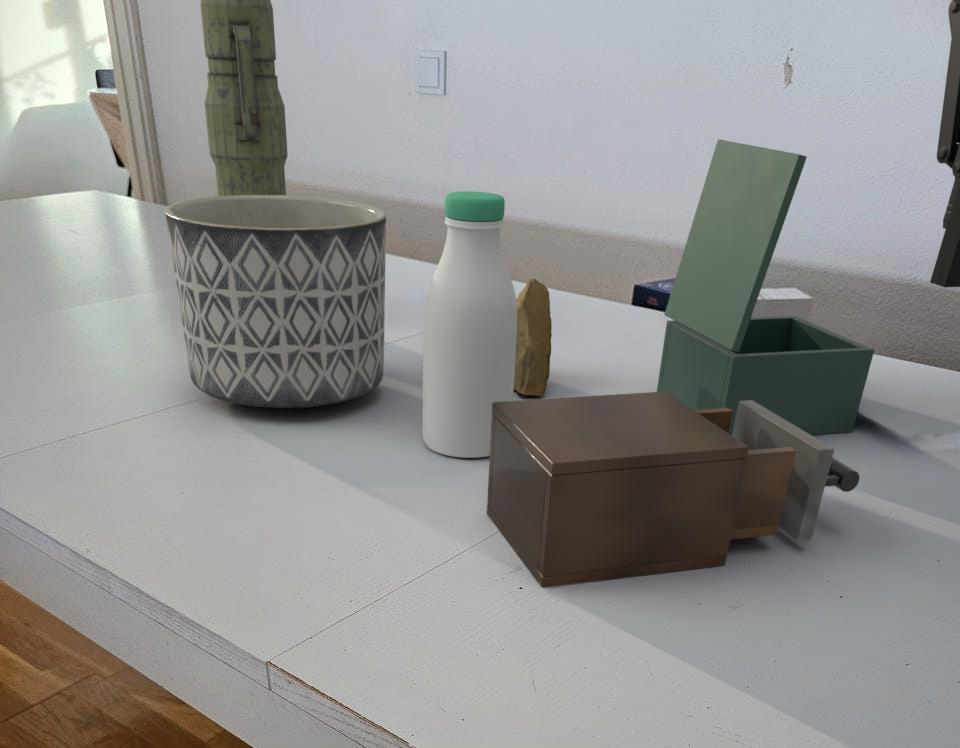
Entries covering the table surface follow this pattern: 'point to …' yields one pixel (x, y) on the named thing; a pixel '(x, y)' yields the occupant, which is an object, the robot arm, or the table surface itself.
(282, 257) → the planter
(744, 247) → the lid
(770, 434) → the drawer
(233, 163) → the thermos
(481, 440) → the milk bottle
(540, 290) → the rock
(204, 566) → the table surface
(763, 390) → the chest
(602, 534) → the cabinet
